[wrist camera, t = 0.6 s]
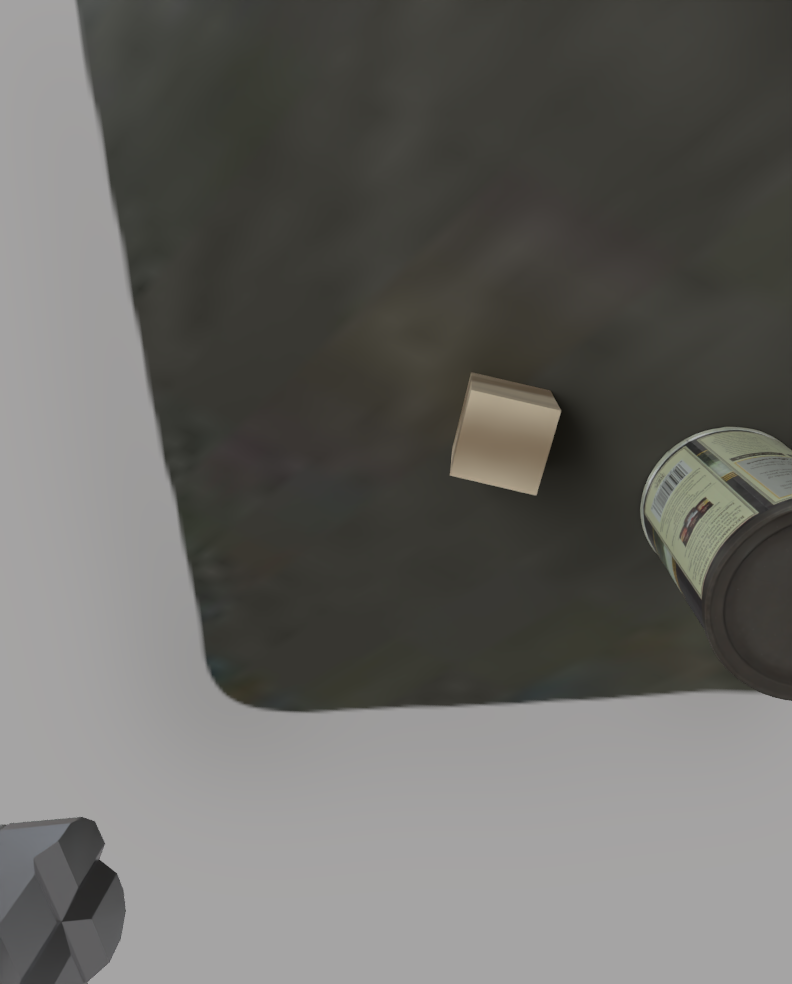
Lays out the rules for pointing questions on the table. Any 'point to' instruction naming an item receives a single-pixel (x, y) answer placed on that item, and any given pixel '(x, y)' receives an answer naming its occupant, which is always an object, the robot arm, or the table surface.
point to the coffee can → (730, 546)
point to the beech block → (504, 434)
